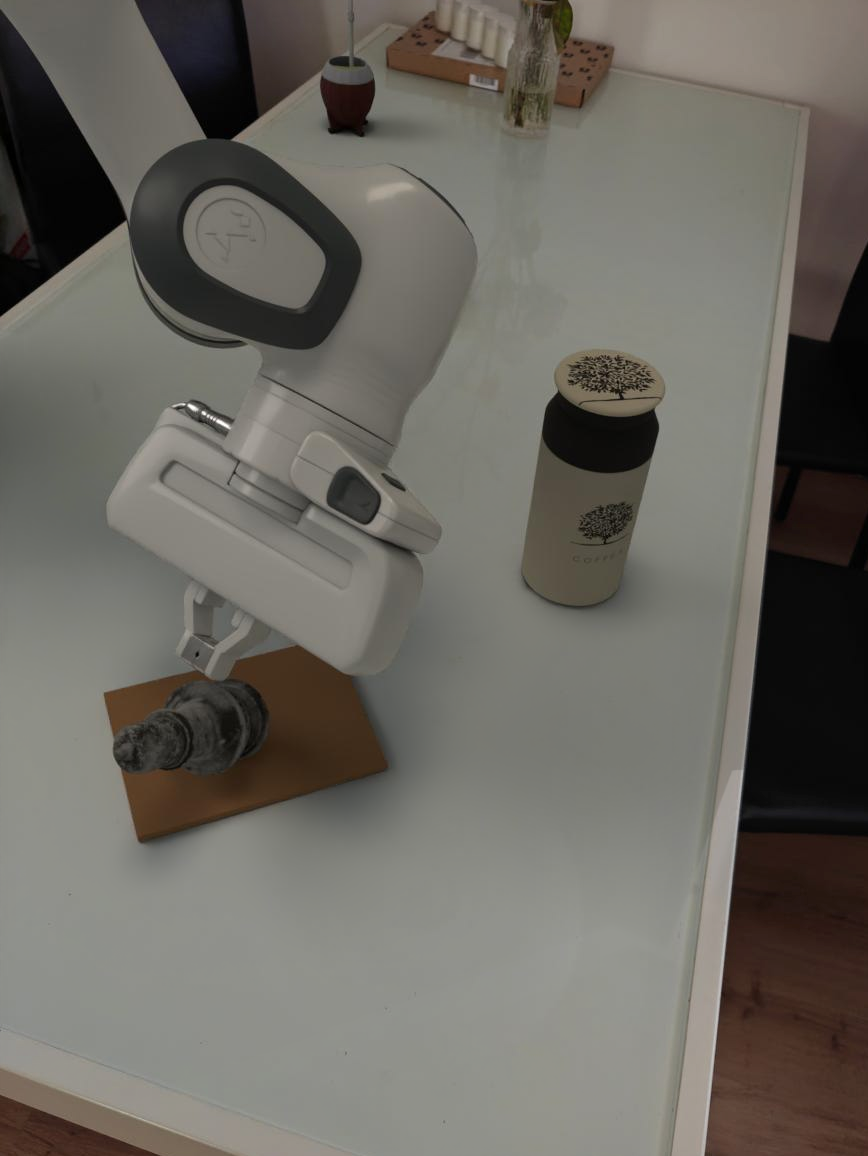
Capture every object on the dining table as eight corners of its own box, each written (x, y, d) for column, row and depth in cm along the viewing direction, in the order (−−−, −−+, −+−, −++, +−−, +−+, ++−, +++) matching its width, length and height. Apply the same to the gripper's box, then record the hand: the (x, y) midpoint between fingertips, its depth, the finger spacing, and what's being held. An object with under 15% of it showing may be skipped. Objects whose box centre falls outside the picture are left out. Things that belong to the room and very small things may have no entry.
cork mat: (138, 843, 62) (137, 837, 62) (104, 698, 69) (103, 692, 69) (388, 769, 67) (388, 764, 67) (332, 641, 75) (332, 636, 74)
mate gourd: (343, 143, 133) (341, 13, 122) (307, 121, 137) (302, -6, 126) (388, 131, 137) (390, 4, 126) (351, 110, 141) (350, -15, 130)
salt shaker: (175, 714, 67) (49, 749, 55) (232, 654, 65) (114, 677, 54) (232, 782, 66) (116, 832, 55) (291, 723, 65) (184, 761, 53)
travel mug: (516, 538, 84) (544, 343, 71) (611, 540, 85) (657, 347, 71) (525, 608, 78) (558, 411, 65) (627, 609, 79) (680, 415, 66)
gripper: (142, 371, 60) (41, 581, 61) (422, 523, 53) (300, 757, 54) (207, 403, 65) (113, 594, 67) (466, 544, 58) (356, 754, 60)
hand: (199, 668), depth 60 cm, fingers closed
